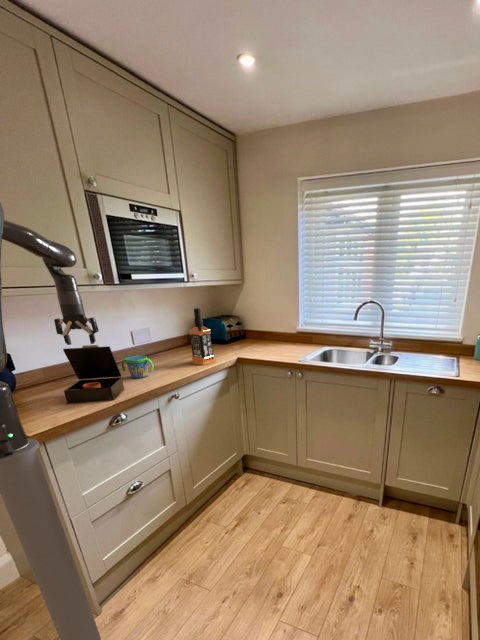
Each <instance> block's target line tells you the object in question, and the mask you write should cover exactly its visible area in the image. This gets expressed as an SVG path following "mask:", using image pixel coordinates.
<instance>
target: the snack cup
mask: <svg viewBox="0 0 480 640" xmlns="http://www.w3.org/2000/svg"><path fill="white" fill-rule="evenodd" d="M125 363H126V366H127V368H126V366H125ZM148 363H149V364H150V367H151V368H150V370H151V371H154V368H155V366H154V362H153V361H152V360H151V359H150V358H148V356H146V355H135V356H133V355H132V356H128V357H125V358H124V359H123V360H122V361H121V370H122V371H123V372H125V371H126V369H128V371H129V374H130V376H131V378H132V379H142V378H145V377H148Z"/></svg>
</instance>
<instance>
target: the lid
mask: <svg viewBox="0 0 480 640" xmlns="http://www.w3.org/2000/svg"><path fill="white" fill-rule="evenodd" d="M62 351H63V353H64V355H65V356H66V359H67V360H68V363H69V364H70V366H71V368H72V369H73V372H74V373H75V375H76V377H77V379H78V381H79V380H87V379H101V378H116V377H122V376H123V375H122V373H121V371H120V368H119V366H118V363H117V361H116V358H115V356H114V354H113V351H112V348H111V346H107V345H106V346H100V345H99V344H88V345H82V347H71V348H70V347H69V348H63V349H62Z"/></svg>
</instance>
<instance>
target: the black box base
mask: <svg viewBox="0 0 480 640" xmlns="http://www.w3.org/2000/svg"><path fill="white" fill-rule="evenodd" d="M93 382H99V383H100V385H101V388H88V389H83V385H84V384H87V383H93ZM124 390H125V385H124V381H123V377H122V376H121V377H109V378H94V379H80V380H79V379H78V380H77V381H76V382H74V383H73V384H71V385H69V387H67V388H65V389H64V390H63V393H64V396H65V400H66V403H67V405H71V404H82V403H95V402H107V401H115V400H116V398H118V396H120V394H121V393H123V391H124Z"/></svg>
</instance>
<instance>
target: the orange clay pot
mask: <svg viewBox="0 0 480 640" xmlns="http://www.w3.org/2000/svg"><path fill="white" fill-rule="evenodd" d="M88 388H101V385H100V383H99V382H93V383H87V384H84V385H83V389H88Z"/></svg>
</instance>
